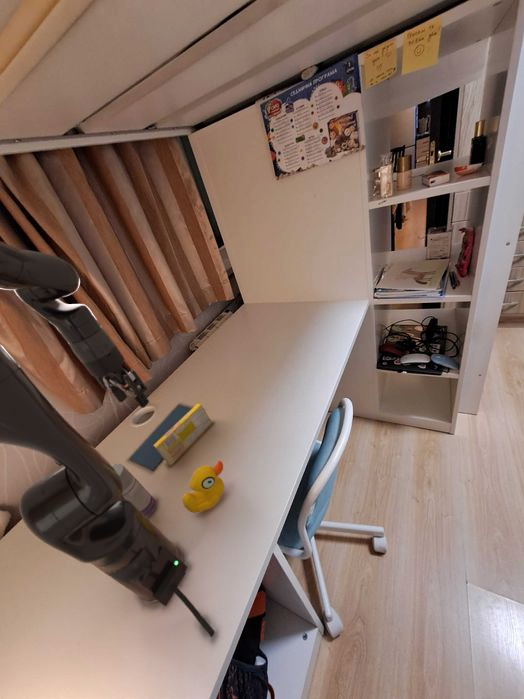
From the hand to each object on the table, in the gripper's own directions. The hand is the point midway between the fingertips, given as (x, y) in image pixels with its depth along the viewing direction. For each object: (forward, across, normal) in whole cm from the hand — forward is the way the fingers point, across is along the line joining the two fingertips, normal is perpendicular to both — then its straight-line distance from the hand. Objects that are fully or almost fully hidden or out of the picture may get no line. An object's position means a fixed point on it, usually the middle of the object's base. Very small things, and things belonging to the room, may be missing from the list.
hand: (134, 402), depth 72 cm
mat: (+20, -5, +5) cm, 21 cm away
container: (+20, +6, -15) cm, 26 cm away
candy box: (+20, +5, +4) cm, 21 cm away
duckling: (+20, +22, -8) cm, 30 cm away
